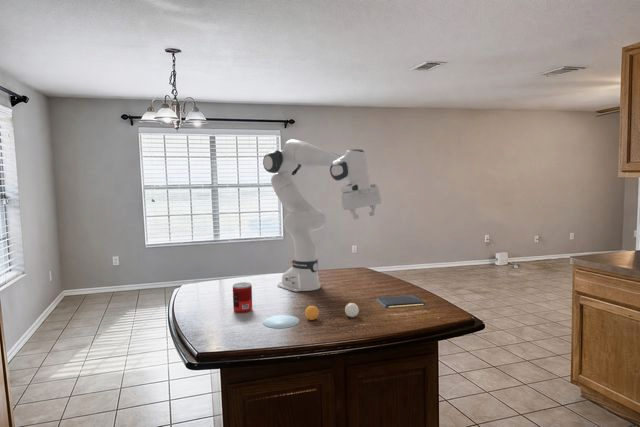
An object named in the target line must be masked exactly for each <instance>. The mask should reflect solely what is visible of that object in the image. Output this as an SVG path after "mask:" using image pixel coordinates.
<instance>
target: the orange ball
mask: <svg viewBox="0 0 640 427" xmlns="http://www.w3.org/2000/svg"><path fill="white" fill-rule="evenodd" d="M304 315H305V317H306V319H307V320H308V321H309V320H310V321H313V320H317V318H318V317H319V315H320V311H319V309H318V307H317V306H315V305H309V306H307V307H306V308H305V309H304Z"/></svg>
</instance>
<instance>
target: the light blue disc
mask: <svg viewBox="0 0 640 427" xmlns="http://www.w3.org/2000/svg"><path fill="white" fill-rule="evenodd" d="M299 323H300V319H299V318H298V317H296V316H293V315H288V314H287V315H285V314H284V315H283V314H282V315H280V314H279V315H273V316H269V317H267V318H266V319H264V320H263V322H262V324H263V325H264V326H265V327H267V328H271V329H289V328H291V327H294V326H297V325H299Z"/></svg>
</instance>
